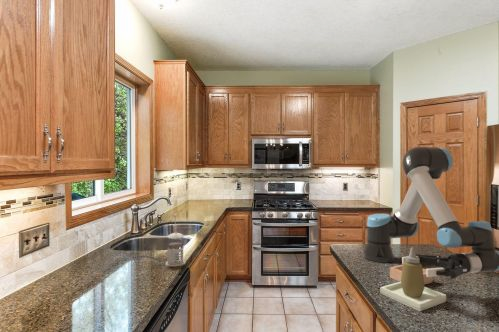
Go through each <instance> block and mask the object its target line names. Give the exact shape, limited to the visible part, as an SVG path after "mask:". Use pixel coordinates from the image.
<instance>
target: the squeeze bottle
mask: <svg viewBox="0 0 499 332" xmlns="http://www.w3.org/2000/svg"><path fill="white" fill-rule="evenodd" d="M416 254H417V253H416V249H415V247H410V250H409V254H408V255H406V256H405V257H406V261H405V262H403V264H402V265H403V268H402V276H401V286H402V289H403V292H404V294H405V295H407V296H410V297H415V298H418V297H421V295H422V293H423V290H424V288H425V287H426V286H425V285H424V277H423V269H424V268H423V264H422V263H420V259H419V258H418V257H416Z"/></svg>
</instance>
